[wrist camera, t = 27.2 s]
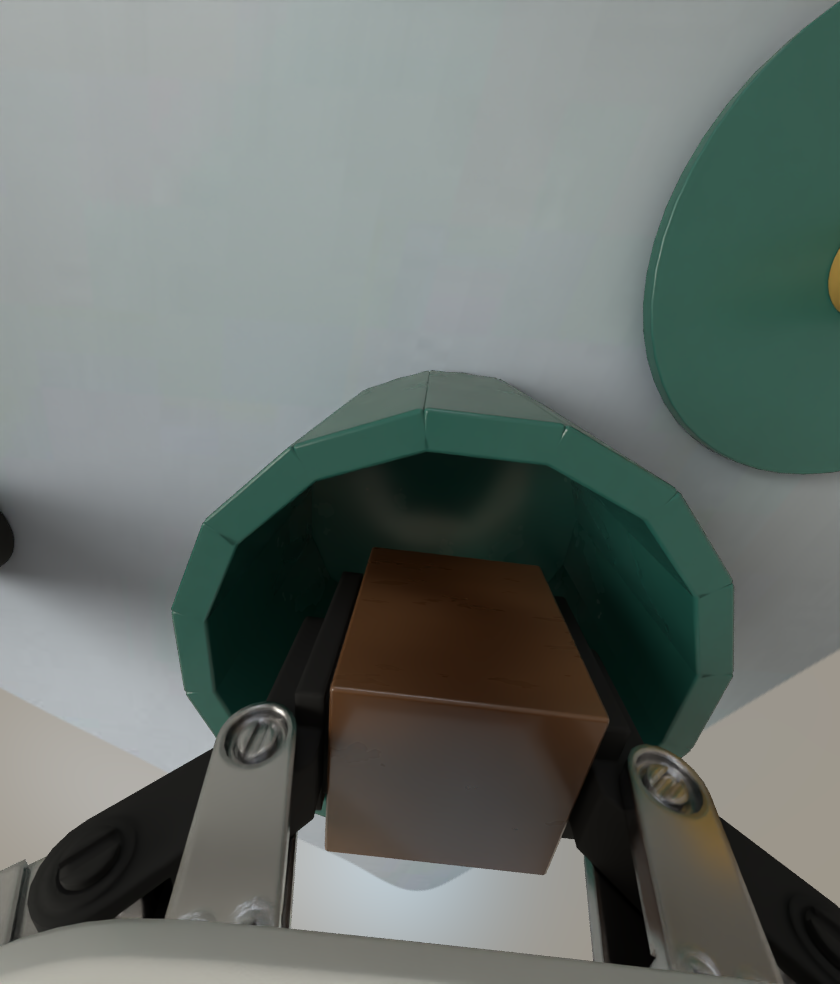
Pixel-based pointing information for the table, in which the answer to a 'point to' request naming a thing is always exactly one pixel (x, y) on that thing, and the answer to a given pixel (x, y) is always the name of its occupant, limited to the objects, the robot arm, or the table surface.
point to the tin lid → (758, 269)
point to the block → (457, 716)
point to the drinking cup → (5, 540)
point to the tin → (462, 544)
